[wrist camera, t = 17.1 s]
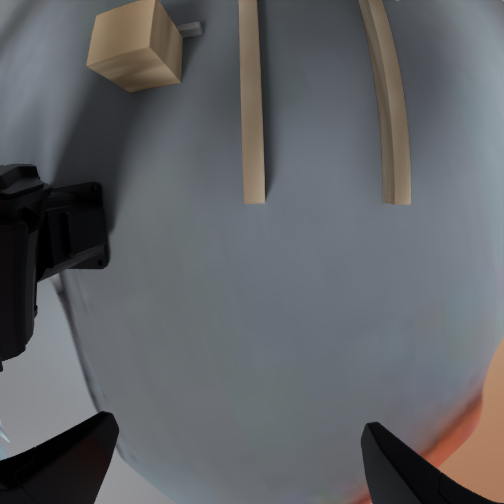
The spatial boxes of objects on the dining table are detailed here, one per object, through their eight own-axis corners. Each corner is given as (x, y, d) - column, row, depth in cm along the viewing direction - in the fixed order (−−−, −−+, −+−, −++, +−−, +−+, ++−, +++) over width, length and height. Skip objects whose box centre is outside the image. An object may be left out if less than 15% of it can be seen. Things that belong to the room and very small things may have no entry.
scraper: (113, 97, 17) (66, 74, 11) (118, 48, 16) (79, 17, 10) (202, 79, 17) (176, 40, 11) (203, 29, 16) (182, -17, 10)
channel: (246, 202, 18) (243, 203, 16) (240, -15, 14) (238, -29, 12) (397, 203, 18) (410, 204, 16) (368, -6, 14) (375, -19, 12)
